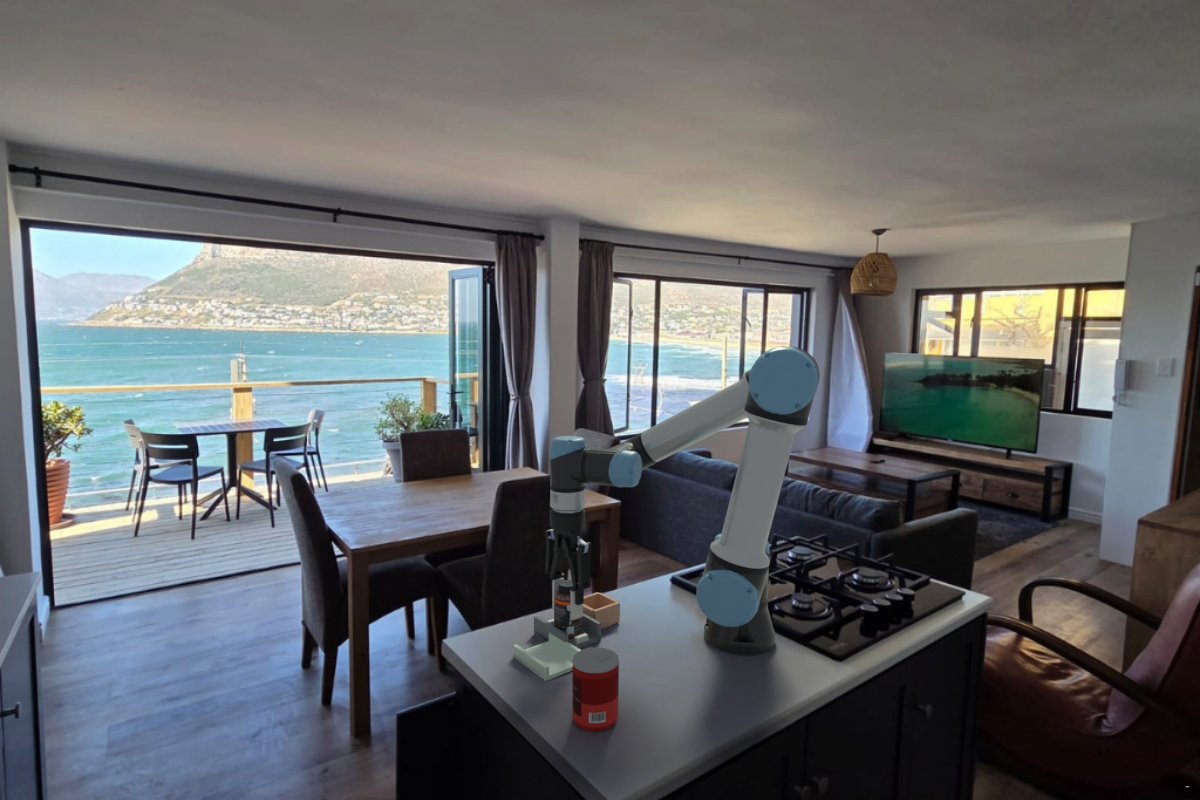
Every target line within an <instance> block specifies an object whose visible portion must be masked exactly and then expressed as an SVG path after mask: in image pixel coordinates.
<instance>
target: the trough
mask: <svg viewBox="0 0 1200 800" xmlns="http://www.w3.org/2000/svg"><path fill="white" fill-rule="evenodd" d="M512 649H513V651H512V653H513V658H514V659H515V660H516V661H518V662H519V663H520V664H522V665H523V666H524V667H526V668H527V669H529V670H530V671H531V672H532V673H534V674H535V675H537V676H538V677H539V678H541V679H542V680H543V679H544V680H543V681H545V682H547V681H550V680H553V679H555V678H557V677H559V676H562V675H564V674H567V673H569V672H571V671H572V666H573V657H574V655H575V654H576V653H577V652H579V651H581V650H582V649H581V648H580V649H579V648H577V647H576V646H574V645H572V644H571V643H569V642H568V641H567V642H564V641H562V640H561V639H559V638H557V637H556V636H554V635H553V634H551V633H549V641H547V642H545V641H544V642H542V643H539V644H537V645H534V646H531V647H527V648H525V649H524V648H523V647H521V646H520V645H519V644H518V643H516V644H513V647H512Z"/></svg>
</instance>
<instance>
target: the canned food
mask: <svg viewBox="0 0 1200 800" xmlns="http://www.w3.org/2000/svg"><path fill="white" fill-rule="evenodd" d="M580 650H581V651H579V652H577V653H576V654H575V655H574V657H573V666H572V678H571V679H572V681H571V682H572V683H571V684H572V693H571V694H572V695H571V697H572V702H571V703H572V704H571V705H572V708H571V709H572V719H573V722H574V724H575V725H576V727H579V728H580V729H581V730H583V729H584V731H587V732H601V731H605V730H608V729H610V728H612V727H613V726H614V725H615V724H616V722H617V719H618V717H619V685H620V684H619V681H620V680H619V675H620V674H619V673H620V667H619V666H620V665H619V663H620V660H619V655H618V654H617V653H616V652H615V651H614V650H611V649H609V648H606V647H605V648H604V647H588V648H583V649H580Z"/></svg>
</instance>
